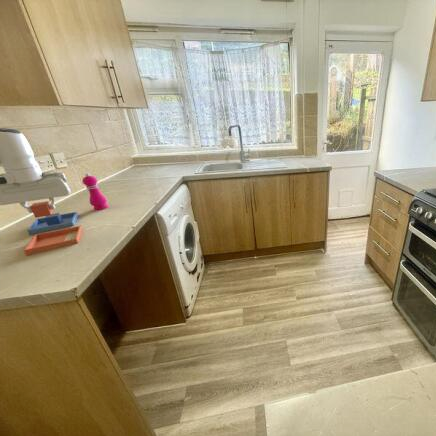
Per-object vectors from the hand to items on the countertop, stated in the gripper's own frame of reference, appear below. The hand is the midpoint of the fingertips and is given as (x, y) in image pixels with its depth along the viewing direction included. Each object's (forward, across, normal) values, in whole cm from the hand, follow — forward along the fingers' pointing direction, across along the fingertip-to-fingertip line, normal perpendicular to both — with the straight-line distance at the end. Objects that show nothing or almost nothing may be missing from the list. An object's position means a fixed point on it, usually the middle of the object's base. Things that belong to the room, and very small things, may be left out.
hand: (42, 210), depth 94 cm
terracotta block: (+2, 0, 0) cm, 2 cm away
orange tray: (+14, 0, 0) cm, 14 cm away
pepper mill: (+14, -13, -36) cm, 40 cm away
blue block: (+13, +4, -23) cm, 27 cm away
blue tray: (+14, +4, -23) cm, 27 cm away
